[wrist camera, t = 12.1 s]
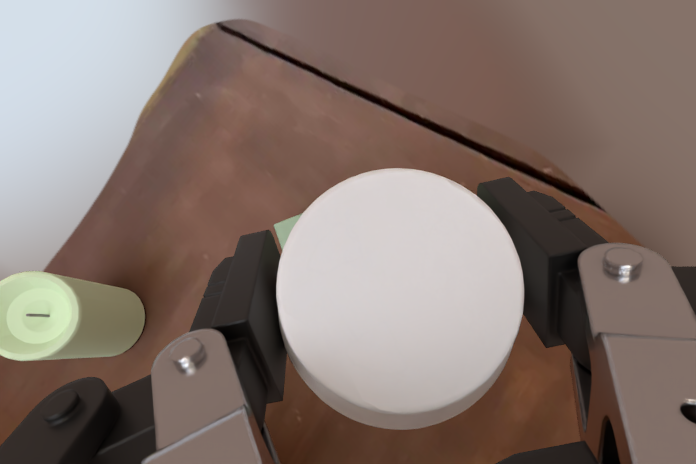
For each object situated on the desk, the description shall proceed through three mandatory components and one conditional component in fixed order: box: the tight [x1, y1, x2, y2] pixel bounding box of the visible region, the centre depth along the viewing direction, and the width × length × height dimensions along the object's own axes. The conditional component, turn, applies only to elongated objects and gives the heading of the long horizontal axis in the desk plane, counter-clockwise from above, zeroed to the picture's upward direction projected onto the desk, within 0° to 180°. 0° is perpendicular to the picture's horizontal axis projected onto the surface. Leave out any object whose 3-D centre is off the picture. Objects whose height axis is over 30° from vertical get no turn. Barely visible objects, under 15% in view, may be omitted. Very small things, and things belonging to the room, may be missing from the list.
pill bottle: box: [276, 168, 524, 430], centre depth 11 cm, size 5×5×10 cm
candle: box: [0, 271, 145, 361], centre depth 27 cm, size 5×5×8 cm
